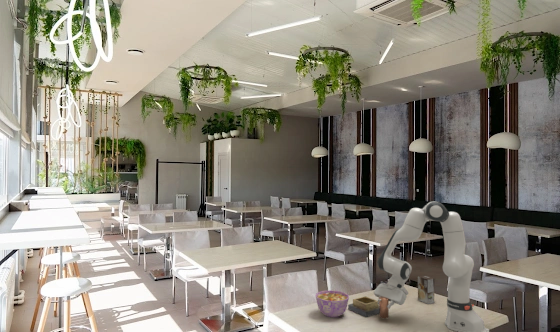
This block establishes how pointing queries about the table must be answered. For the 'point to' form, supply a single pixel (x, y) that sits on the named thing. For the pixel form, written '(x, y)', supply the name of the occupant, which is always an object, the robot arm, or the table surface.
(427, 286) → the coffee box
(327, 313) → the bowl of food
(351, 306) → the grey square holder
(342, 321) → the table surface
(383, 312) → the spout can
